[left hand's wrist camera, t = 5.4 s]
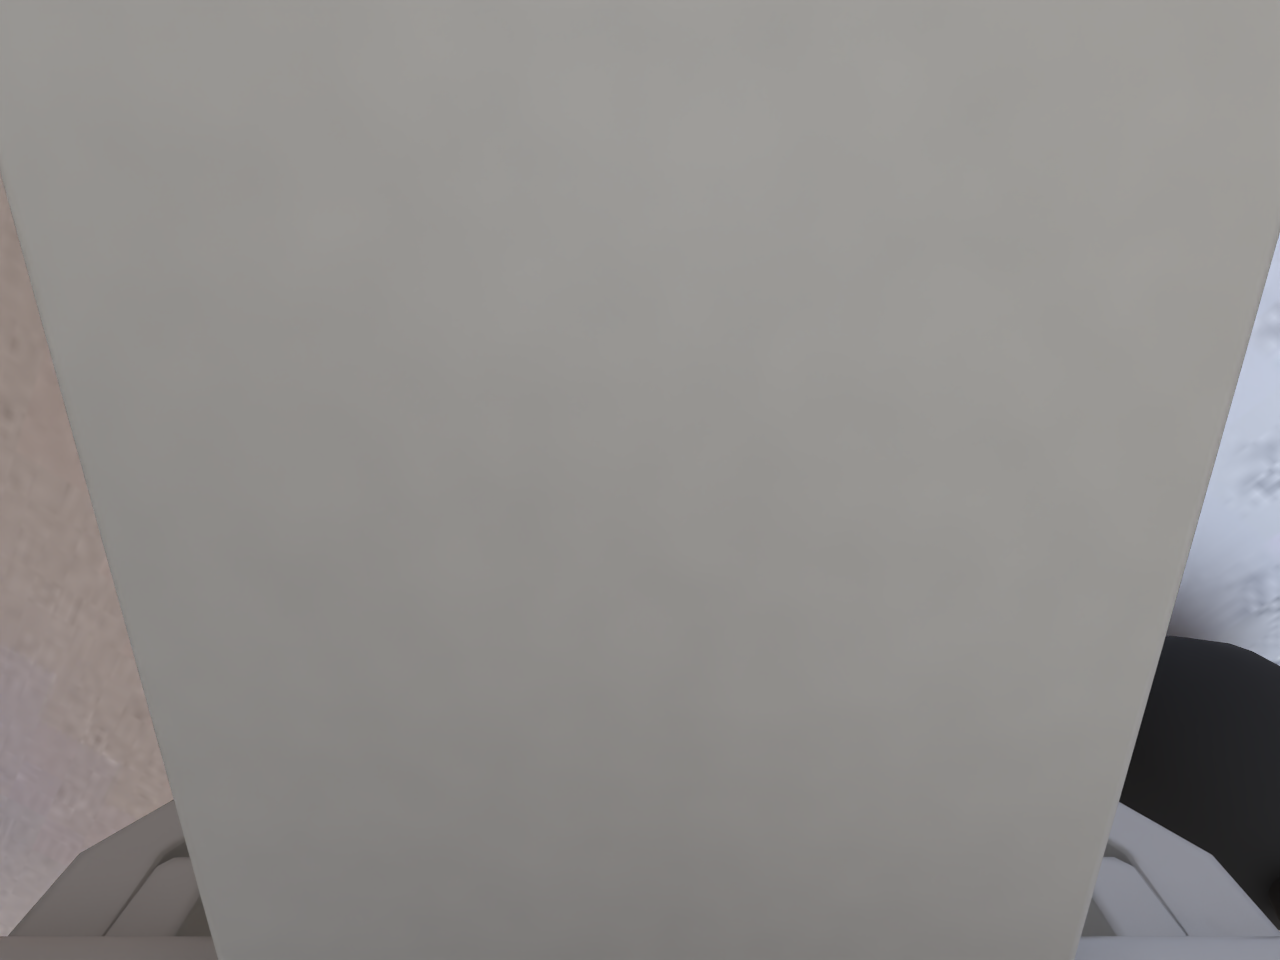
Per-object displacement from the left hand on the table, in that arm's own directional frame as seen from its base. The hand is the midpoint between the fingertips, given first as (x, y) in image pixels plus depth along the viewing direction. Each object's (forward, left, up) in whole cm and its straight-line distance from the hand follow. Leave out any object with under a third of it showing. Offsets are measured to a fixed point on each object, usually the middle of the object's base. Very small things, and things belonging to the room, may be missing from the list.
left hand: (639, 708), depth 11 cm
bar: (+6, +4, -4) cm, 8 cm away
